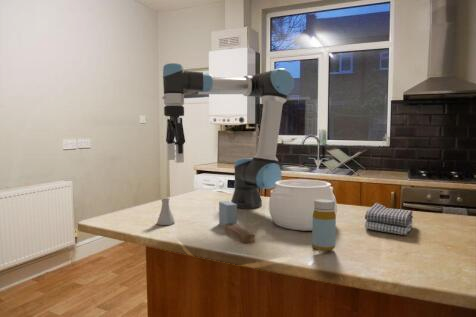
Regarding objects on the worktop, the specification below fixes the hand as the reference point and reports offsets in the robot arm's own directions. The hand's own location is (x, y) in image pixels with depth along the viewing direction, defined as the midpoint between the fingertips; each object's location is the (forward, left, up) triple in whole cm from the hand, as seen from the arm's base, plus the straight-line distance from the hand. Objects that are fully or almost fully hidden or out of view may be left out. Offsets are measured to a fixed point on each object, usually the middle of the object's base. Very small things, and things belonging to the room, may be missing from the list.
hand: (175, 161), depth 129 cm
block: (-16, +23, -25) cm, 38 cm away
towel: (-73, +38, -26) cm, 86 cm away
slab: (-18, +9, -25) cm, 32 cm away
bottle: (-35, +45, -25) cm, 63 cm away
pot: (-46, +19, -26) cm, 56 cm away
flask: (+3, -5, -26) cm, 26 cm away
